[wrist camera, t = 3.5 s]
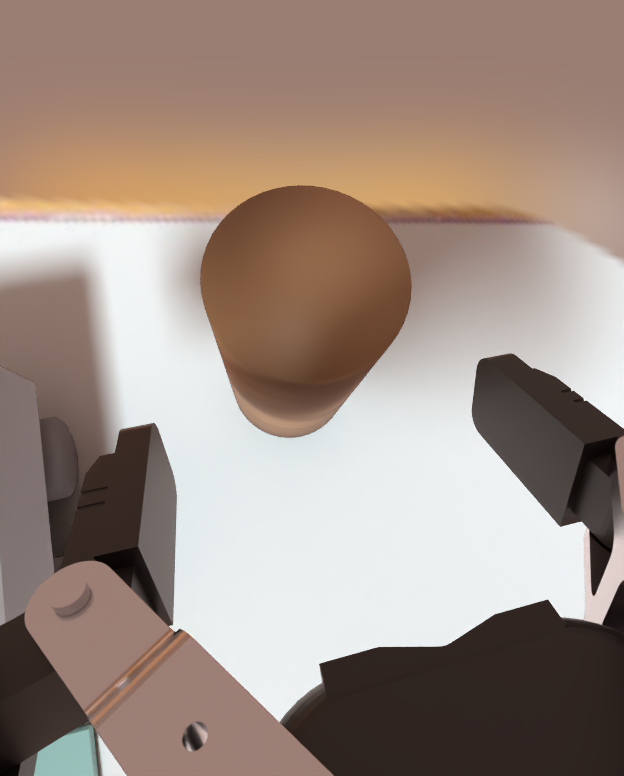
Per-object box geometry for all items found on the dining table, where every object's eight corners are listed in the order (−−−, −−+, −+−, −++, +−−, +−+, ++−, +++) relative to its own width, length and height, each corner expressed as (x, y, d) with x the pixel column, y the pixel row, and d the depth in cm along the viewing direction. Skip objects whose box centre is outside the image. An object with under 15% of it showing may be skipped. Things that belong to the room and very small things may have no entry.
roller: (330, 321, 21) (382, 173, 11) (354, 425, 20) (434, 358, 10) (224, 340, 20) (184, 200, 11) (244, 448, 20) (220, 399, 10)
